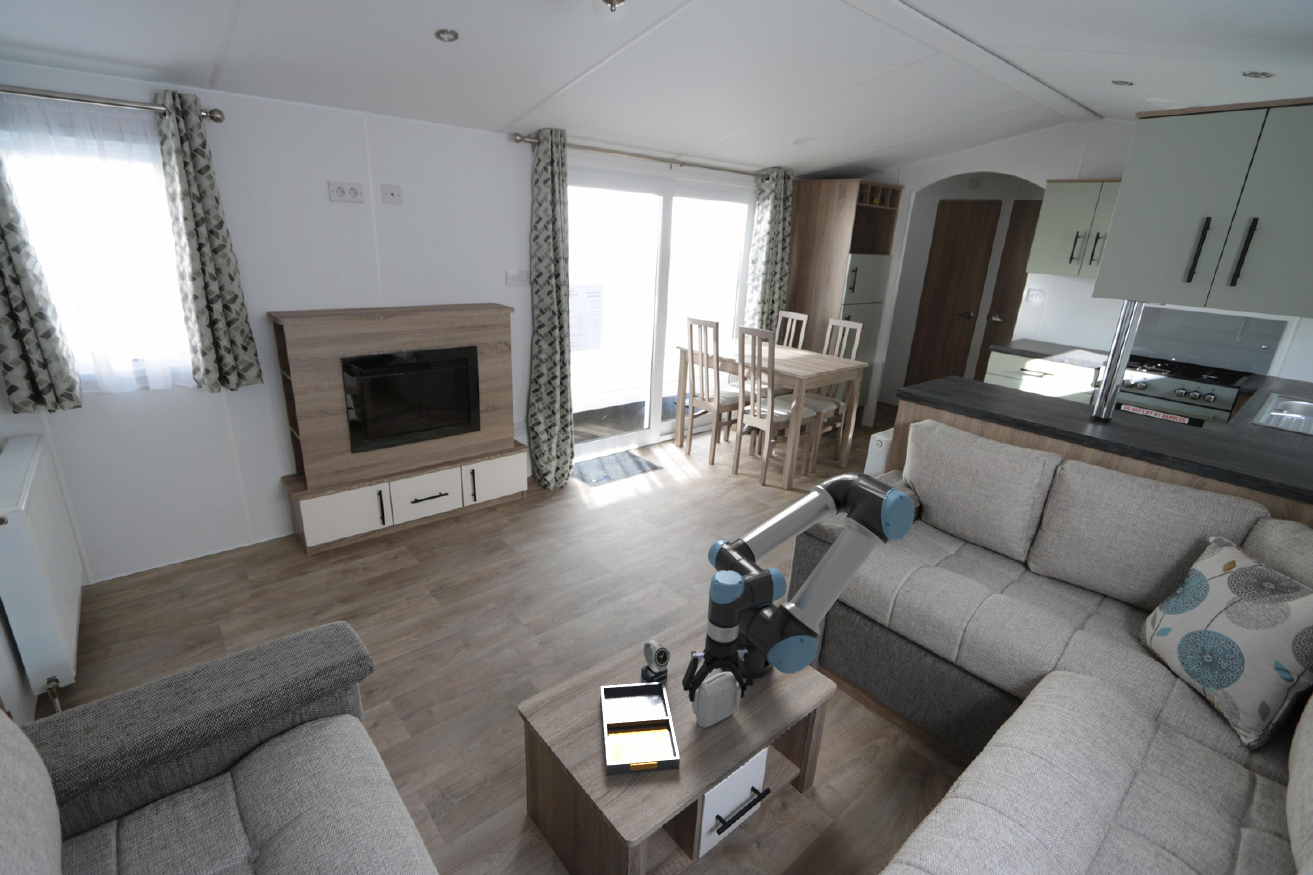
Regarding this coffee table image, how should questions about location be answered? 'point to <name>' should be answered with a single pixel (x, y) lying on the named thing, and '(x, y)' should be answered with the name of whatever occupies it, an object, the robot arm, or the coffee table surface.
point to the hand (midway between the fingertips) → (715, 708)
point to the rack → (638, 729)
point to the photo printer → (716, 699)
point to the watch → (655, 662)
